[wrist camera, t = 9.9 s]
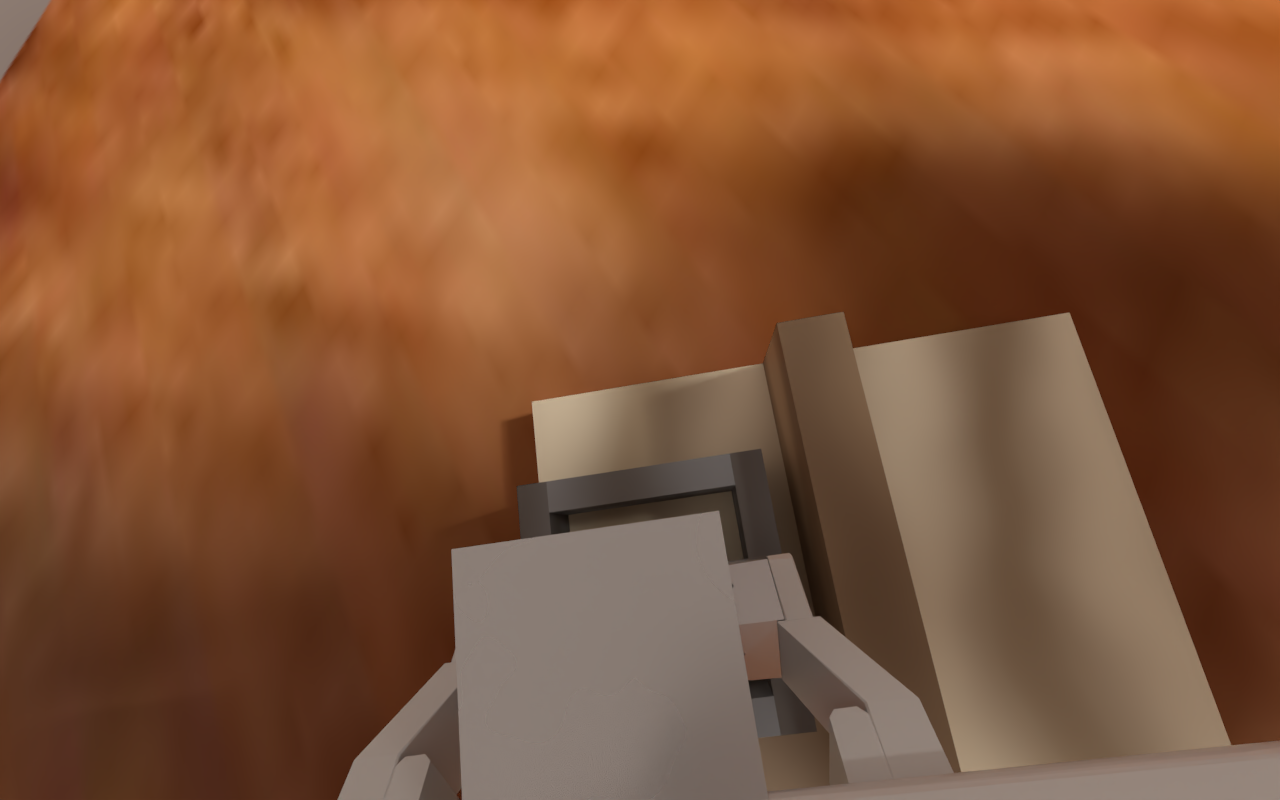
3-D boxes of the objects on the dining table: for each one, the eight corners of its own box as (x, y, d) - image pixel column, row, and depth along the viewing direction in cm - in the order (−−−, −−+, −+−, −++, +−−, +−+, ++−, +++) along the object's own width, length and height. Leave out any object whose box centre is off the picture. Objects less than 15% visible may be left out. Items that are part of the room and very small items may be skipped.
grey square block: (711, 522, 17) (719, 510, 8) (733, 656, 16) (775, 838, 7) (590, 539, 18) (451, 549, 8) (605, 671, 16) (464, 866, 7)
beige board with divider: (1043, 327, 21) (1162, 257, 15) (1201, 767, 17) (1431, 876, 11) (543, 410, 22) (491, 371, 17) (581, 828, 18) (531, 948, 13)
